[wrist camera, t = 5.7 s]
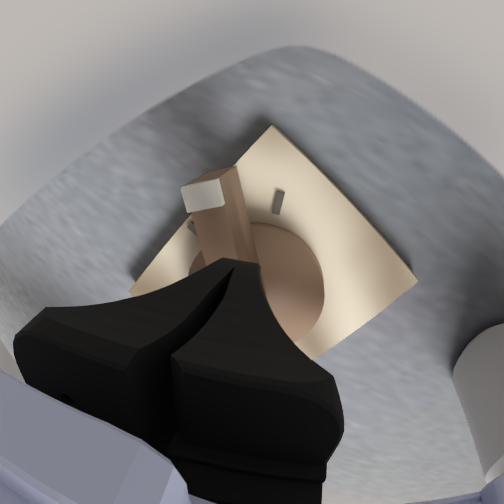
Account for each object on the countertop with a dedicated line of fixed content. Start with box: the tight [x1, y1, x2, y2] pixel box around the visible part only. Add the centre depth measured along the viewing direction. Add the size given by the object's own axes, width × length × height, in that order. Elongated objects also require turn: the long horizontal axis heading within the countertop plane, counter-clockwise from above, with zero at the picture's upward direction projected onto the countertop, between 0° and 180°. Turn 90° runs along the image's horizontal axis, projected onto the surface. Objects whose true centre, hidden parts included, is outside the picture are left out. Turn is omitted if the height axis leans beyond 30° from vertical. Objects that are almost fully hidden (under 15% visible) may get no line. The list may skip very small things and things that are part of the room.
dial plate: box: [129, 125, 418, 360], centre depth 19 cm, size 14×12×1 cm
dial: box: [180, 166, 325, 342], centre depth 16 cm, size 11×8×5 cm
